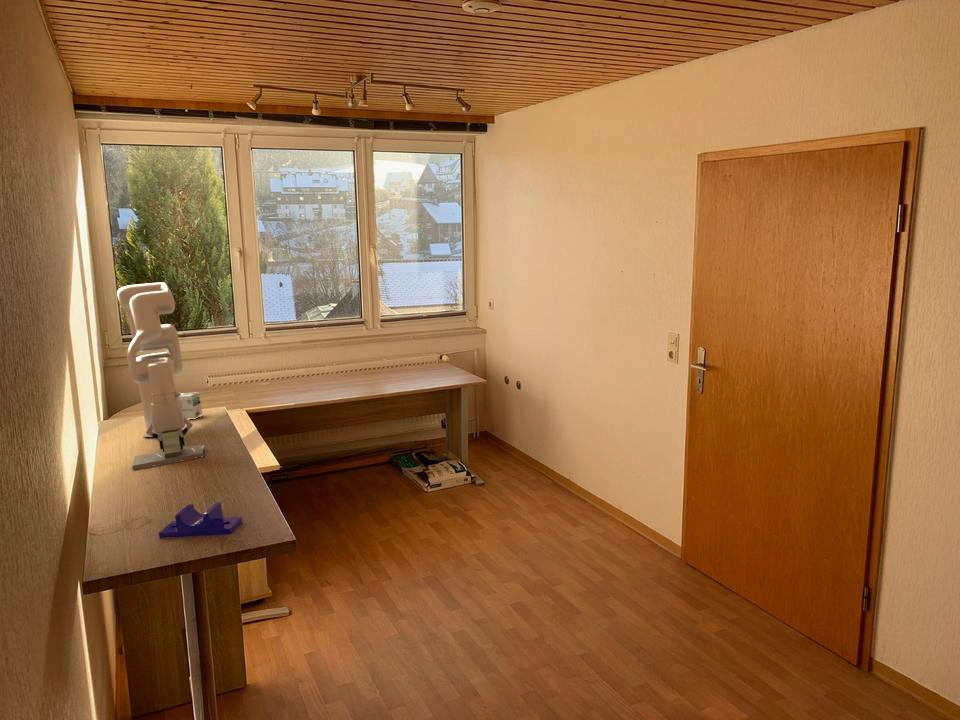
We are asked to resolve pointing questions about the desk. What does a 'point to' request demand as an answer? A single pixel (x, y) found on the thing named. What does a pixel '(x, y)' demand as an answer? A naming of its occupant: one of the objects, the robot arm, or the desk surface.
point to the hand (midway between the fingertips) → (173, 448)
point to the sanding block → (171, 444)
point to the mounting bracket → (200, 523)
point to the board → (160, 458)
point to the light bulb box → (191, 404)
